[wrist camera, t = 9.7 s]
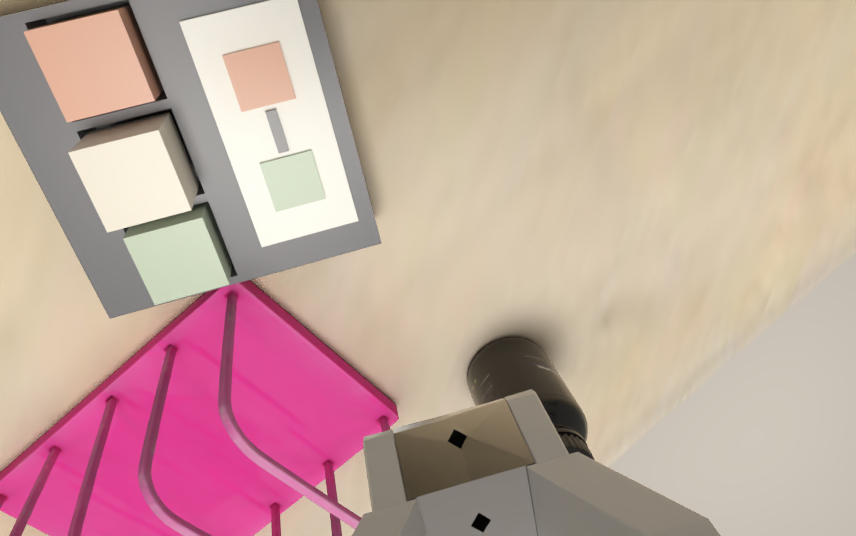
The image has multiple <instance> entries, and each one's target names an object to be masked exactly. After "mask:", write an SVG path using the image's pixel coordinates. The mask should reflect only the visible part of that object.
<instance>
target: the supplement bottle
mask: <svg viewBox="0 0 856 536" xmlns="http://www.w3.org/2000/svg"><path fill="white" fill-rule="evenodd" d="M468 387H469V390H470V393H471V396H472V398H473V401H474V403H475V405H476V406H478V405H482V404H485V403H489V402H492V401H495V400H499V399H502V398H503V399H504V397H507V396H511V395H514V394H517V393H520V392H524V391H527V390H530V389H532V390H533V391H535V392H536V394H537V396H538V398H539V399H540V401H541V403H542V405H543V407H544V409H545V410H546V412H547V414H548V416H549V418H550V420H551V422H552V423H553V425H554V427H555V429H556V431H557V433H558V434H559V436H560V438H561V440H562V442H563V444H564V445H565V447H566V449H567V451H568V453H569V454H571V453H575V452H579V453H581V454H583V455H585V456H587V457H589V458H591V459H593V460H594V458H593V456H592V453H591V452H590V450H589V448H588V446H587V444H586V439H587V433H588V427H587V421H586V418H585V415H584V413H583V411H582V410H581V408H580V406H579V405H578V403H577V402H576V400H575V399H574V397H573V396H572V394H571V392H570V391H569V389H568V388H567V386H566V385H565V383H564V382H563V380H562V379H561V377H560V375H559V374H558V372H557V371H556V369H555V368H554V366H553V365H552V363H551V362H550V360H549V359H548V357H547V356H546V354H545V353H544V352H543V350H542V349H541V348H540V347H539V346H538V345H537V344H535V343H533V342H532V341H530V340H527V339H523V338H505V339H501V340H498V341H495V342H493V343H491V344H489V345H488V346H486V347H485V348H484V349H482V350H481V351H480V352H479V353H478V354H477V356H476V357H475V358H474V360H473V361H472V363H471V365H470V368H469V371H468Z"/></svg>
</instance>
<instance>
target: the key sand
mask: <svg viewBox="0 0 856 536" xmlns="http://www.w3.org/2000/svg"><path fill="white" fill-rule="evenodd" d="M68 154H69V156H70V158H71V160H72V162H73V164H74V166H75V168H76V170H77V172H78V174H79V176H80V178H81V180H82V182H83V184H84V186H85V188H86V190H87V192H88V194H89V196H90V198H91V200H92V202H93V205H94V207H95V209H96V211H97V213H98V215H99V217H100V219H101V221H102V223H103V225H104V227H105V229H106V231H107V233H108V232H112V231H115V230H119V229H123V228H127V227H131V226H134V225H138V224H142V223H146V222H149V221H153V220H157V219H161V218H165V217H168V216H172V215H176V214H180V213H183V212H187V211H191V210H192V207H193V204H194V201H195V198H196V195H197V191H198V188H199V183H198V181H197V178H196V176H195V173H194V171H193V168H192V166H191V163H190V161H189V158H188V156H187V153H186V151H185V148H184V146H183V143H182V141H181V138H180V136H179V133H178V131H177V128H176V126H175V123H174V121H173V118H172V116H171V113H170V112H166V113H162V114H158V115H154V116H150V117H146V118H142V119H138V120H134V121H130V122H126V123H122V124H118V125H114V126H110V127H106V128H102V129H98V130H94V131H90V132H88V133H87V134H86V135H85V136H84V137H83V138H82V139H81V140H80V141H79V142H78V143H77V144H76V145H75V146H74V147H73V148H72V149H71V150H70V151H69V152H68Z"/></svg>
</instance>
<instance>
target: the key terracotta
mask: <svg viewBox="0 0 856 536" xmlns="http://www.w3.org/2000/svg"><path fill="white" fill-rule="evenodd" d="M24 34H25V36H26V39H27V41H28V43H29V45H30V47H31V49H32V51H33V53H34V55H35V57H36V59H37V61H38V63H39V66H40V68H41V70H42V72H43V74H44V76H45V78H46V80H47V82H48V84H49V86H50V88H51V90H52V93H53V95H54V97H55V99H56V101H57V103H58V105H59V107H60V109H61V111H62V113H63V115H64V118H65V120H66V122H67V123H68V122H72V121H76V120H80V119H84V118H88V117H92V116H96V115H100V114H104V113H108V112H112V111H116V110H120V109H124V108H128V107H132V106H136V105H140V104H145V103H149V102H153V101H155V100H156V99H157V97H158V96H159V95H160V94H161V92H162V91H163V90H164V89H163V86H162V84H161V81H160V79H159V76H158V74H157V71H156V68H155V66H154V63H153V61H152V58H151V56H150V53H149V51H148V48H147V46H146V43H145V41H144V38H143V36H142V33H141V31H140V28H139V26H138V23H137V21H136V18H135V16H134V13H133V10H132V8H131V5H130V4H128V5H124V6H120V7H116V8H111V9H107V10H103V11H98V12H94V13H90V14H85V15H81V16H77V17H72V18H68V19H64V20H60V21H55V22H51V23H48V24H45V25H42V26H39V27H36V28H33V29H30V30H27V31H24Z"/></svg>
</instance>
